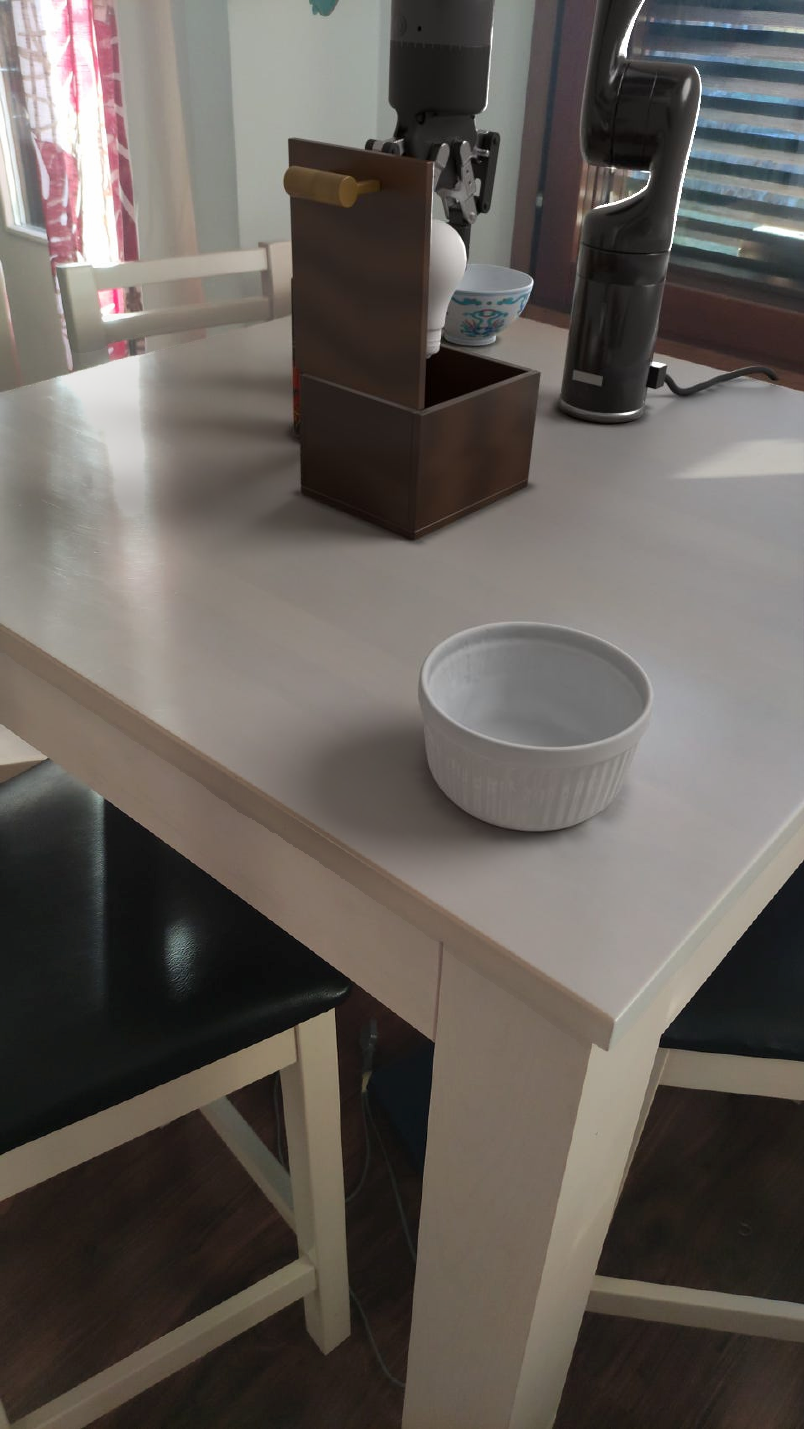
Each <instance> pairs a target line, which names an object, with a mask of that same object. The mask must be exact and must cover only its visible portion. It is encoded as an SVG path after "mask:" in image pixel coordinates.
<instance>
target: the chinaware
mask: <svg viewBox="0 0 804 1429" xmlns="http://www.w3.org/2000/svg"><path fill="white" fill-rule="evenodd" d="M533 286H534V279H533V277H532V276H531V275H529V274H527V273H525V272H523V271H520V270H517V269H513V268H510V267H505V266H500V265H492V264H484V263H468V262H467V269H466V271H465V272H464V275H463V277H462V279H461V281H460V283H459V285H458V287H457V288H456V290H455V292H454V293H453V295H452V297H451V299H450V302H449V304H448V307H447V311H446V316H445V324H444V327H443V328H442V329H441V331H443V332H444V339H445V340H446V341H448V342H450V343H452V344H457V345H461V346H468V347H469V346H471V347H476V346H477V347H480V346H488V345H491V344H493V343H495V341H496V339H497V335H499V334H500V333H502V332H503V331H505V330H506V329H507V328H509V327H510V326H511V325H512V324H513V323H514V322H515V321H516V320H517V319H518V317H520V315H521V313H523V310H524V309H525V307H526V305H527V303H528V301H529V298H530V295H531V292H532V289H533Z"/></svg>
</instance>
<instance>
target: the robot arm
mask: <svg viewBox="0 0 804 1429" xmlns="http://www.w3.org/2000/svg"><path fill="white" fill-rule="evenodd" d="M644 2H645V0H596V4H595V13H594V18H593V20H594V21H593V24H592V25H593V27H592V33H591V39H590V46H589V51H588V52H589V53H588V59H587V64H586V65H587V66H586V73H585V80H584V86H583V94H582V100H581V109H580V118H579V150H580V154H581V157H582V159H583V161H584V162H585V163H586V164H587V165H589V166H592V167H598V168H604V169H615V170H621V171H622V170H623V171H633V172H643V173H649V179H648V182H647V185H646V186H645V187H643V189H641V190H640V191H639V192H637V193H635V194H633V195H632V196H630V197H627V198H624V199H622V200H618V201H616V202H612V203H608V204H607V203H606V204H604V205H599V206H595V207H594V208H592V209H590V210H589V211H587V212H586V213H585V215H584V217H583V219H582V226H581V231H580V232H581V234H580V242H579V250H578V256H577V257H578V258H577V264H576V273H575V282H574V289H573V297H572V305H571V311H570V319H569V326H568V335H567V342H566V343H567V344H566V348H565V349H566V350H565V358H564V365H563V373H562V380H561V387H560V393H559V398H558V403H557V404H558V408H559V409H560V410H561V411H562V412H563V413H565V414H567V415H569V416H571V417H574V418H577V419H581V420H585V421H589V422H596V423H605V424H606V423H607V424H608V423H609V424H613V423H614V424H615V423H626V422H632V421H635V420H637V419H639V418H640V417H642V416H643V414H644V410H645V405H646V399H647V394H648V389H653V390H658V389H660V388H662V387H664V386H665V384H666V386H667V387H668V389H669V390H670V392H672V393H673V394H674V395H678V396H681V397H682V396H684V397H685V396H690V395H694V394H696V393H697V392H700V391H702V390H706V389H708V388H711V387H712V386H714V385H716V384H719V383H723V382H727V381H730V380H735V379H737V378H738V379H739V378H740V377H744V376H747V375H753V374H762V375H764V376H767V377H768V378H769V379H770V380H771V381H775V382H777V381H778V382H779V381H780V378H779V376H778V374H777V373H776V372H775V371H774V370H773V369H772V368H770V367H767V366H762V365H753V366H751V365H750V366H745V367H742V368H739V369H736V370H733V371H729V372H726V373H720V374H717V375H714V376H712V377H710V378H708V379H706V380H704V381H701V382H697V383H696V384H693V385H690V386H688V387H680V386H679V385H677V383H676V382H675V381H674V379H673V377H672V376H671V375H669V373H667V369H668V364H665V363H661V362H658V361H654V355H655V348H656V344H657V336H658V332H659V327H660V322H659V319H660V313H661V307H662V302H663V297H664V290H665V284H666V278H667V274H668V267H669V262H670V256H671V248H672V244H673V239H674V232H675V227H676V221H677V215H678V214H677V213H678V210H679V205H680V199H681V194H682V188H683V183H684V178H685V174H686V169H687V165H688V160H689V156H690V152H691V147H692V144H693V139H694V135H695V131H696V127H697V121H698V116H699V111H700V104H701V96H702V82H701V77H700V76H701V75H700V74H699V70H698V69H697V68H696V67H695V66H694V65H692V64H687V63H680V62H668V61H653V60H643V59H641V60H640V59H628V58H627V49H628V44H629V40H630V37H631V33H632V30H633V27H634V24H635V20H636V18H637V16H638V15H639V12H640V10H641V8H642V6H643V4H644ZM495 8H496V0H390V26H389V27H390V28H389V60H388V61H389V64H388V65H389V66H388V97H387V98H388V99H387V100H388V104H389V106H390V107H391V108H392V109H393V110H395V112H396V116H397V118H396V125H395V128H394V131H393V134H392V137H390V138H387V139H384V140H381V139H374V138H369V139H367V140H366V142H365V144H364V149H365V150H371V151H377V152H383V153H389V154H394V155H400V156H406V157H412V158H418V159H424V160H429V161H433V162H434V172H433V197H434V194H436V196H438V197H439V198H440V200H441V203H442V207H443V208H442V209H443V211H444V216H445V219H446V220H448V221H444V222H445V223H447V224H448V225H450V226H451V227H452V228H454V229H455V230H456V231H457V233H458V234H459V236H460V237H461V239H462V241H463V243H464V246H465V250H466V258H467V261H466V268H465V271H466V269H467V263H468V262H469V259H470V246H471V245H470V244H471V234H472V233H471V232H472V225H473V224H475V223H476V222H477V218H478V216H479V215H480V214H485V215H486V214H488V213H489V212H490V210H491V207H492V199H493V194H494V186H495V179H496V171H497V165H498V159H499V152H500V146H501V145H500V144H501V135H500V133H499V132H497V131H491V130H488V129H481V128H480V129H477V125H476V115H479V114H482V113H484V112H485V110H486V109H487V107H488V102H489V89H490V88H489V87H490V74H491V63H492V62H491V61H492V50H493V49H492V48H493V37H494V35H493V34H494V24H495V10H496V9H495ZM477 179H478V180H480V181H479V182H480V185H479V186H480V187H479V193H478V195H475V193H476V191H477V184H476V180H477ZM433 197H432V199H433ZM457 200H458V201H457Z"/></svg>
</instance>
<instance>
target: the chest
mask: <svg viewBox="0 0 804 1429" xmlns="http://www.w3.org/2000/svg"><path fill="white" fill-rule="evenodd" d="M541 373H542V371H540V370H536V369H532V368H529V367H526V366H522V365H519V364H515V363H512V362H508V361H504V360H502V359H497V358H494V357H491V356H487V355H484V354H481V353H476V352H473V351H471V350H466V349H462V348H459V347H457V346H452V345H448V344H445V343H443V342H442V343H441V342H440V347H439V351H438V352H437V353H435V354H433V355H431V357H430V358H426V373H425V399H424V409H421V410H419V411H417V410H414V409H411V408H408V407H405V406H402V405H399V404H396V403H393V402H390V401H387V400H384V399H381V398H378V397H375V396H372V395H369V394H366V393H363V392H360V391H357V390H354V389H351V388H348V387H345V386H342V385H339V384H336V383H333V382H330V381H327V380H324V379H321V378H318V377H315V376H312V375H309V374H306V373H304V374H300V375H299V400H300V439H299V456H300V457H299V459H300V460H299V461H300V462H299V463H300V466H299V467H300V493H301V494H302V495H304V496H307V497H309V498H312V499H313V500H316V501H319V502H321V503H323V504H326V505H329V506H331V507H334V508H335V509H338V510H341V511H343V512H345V513H347V514H350V515H351V516H352V515H353V516H355V517H357V518H360V519H362V520H365V521H367V522H368V523H372V524H374V525H377V526H378V527H382V528H384V529H386V530H389V531H391V532H393V533H396V534H398V535H401V536H403V537H405V538H408V539H410V540H412V541H416V540H418V539H420V538H422V537H425V536H426V535H428V534H430V533H432V532H434V531H437V530H439V529H441V528H443V527H445V526H447V525H450V524H451V523H453V522H456V521H457V520H460V519H462V518H464V517H466V516H468V515H470V514H472V513H474V512H476V511H478V510H481V509H483V508H485V507H487V506H489V505H491V504H493V503H495V502H497V501H500V500H501V499H504V498H505V497H508V496H509V495H511V494H514V493H516V492H518V491H520V490H523V489H524V488H527V487H528V485H529V484H528V483H529V477H530V476H529V475H530V468H531V460H532V453H533V452H532V451H533V442H534V434H535V427H536V416H537V410H538V409H537V408H538V401H539V392H540V384H541V375H542V374H541Z"/></svg>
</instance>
